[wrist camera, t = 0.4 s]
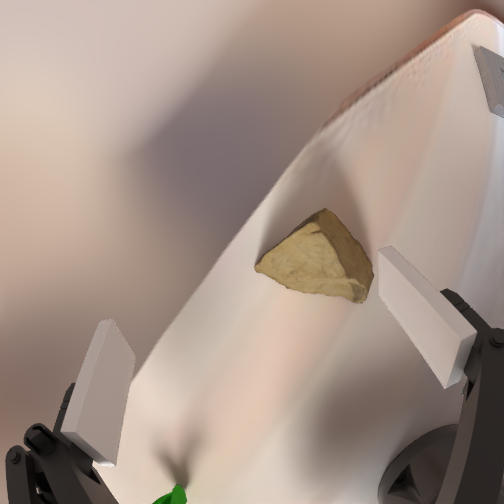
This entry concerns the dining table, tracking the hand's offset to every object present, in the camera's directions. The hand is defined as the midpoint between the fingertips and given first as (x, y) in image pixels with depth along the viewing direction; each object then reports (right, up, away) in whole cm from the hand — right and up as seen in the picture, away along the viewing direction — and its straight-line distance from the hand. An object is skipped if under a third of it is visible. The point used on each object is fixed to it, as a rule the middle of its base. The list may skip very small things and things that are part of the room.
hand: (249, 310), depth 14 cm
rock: (+6, 0, +16) cm, 17 cm away
